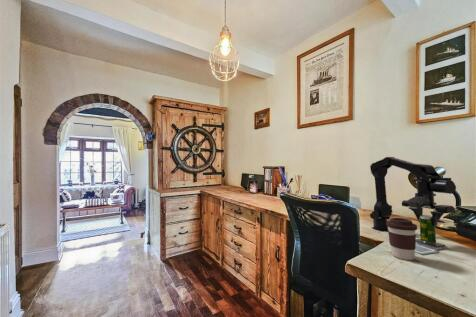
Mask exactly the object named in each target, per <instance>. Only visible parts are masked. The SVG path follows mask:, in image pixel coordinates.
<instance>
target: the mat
mask: <svg viewBox="0 0 476 317" xmlns="http://www.w3.org/2000/svg"><path fill="white" fill-rule="evenodd" d="M437 253H439V254H440V250H433V249H430V248H427V247H424V246H420V245H417V244H416V248H415V254H418V255H419V256H425V255H432V254H437Z"/></svg>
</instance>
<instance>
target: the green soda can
mask: <svg viewBox="0 0 476 317" xmlns="http://www.w3.org/2000/svg"><path fill="white" fill-rule="evenodd" d="M419 221H420V223H419V232H420V233H419V234H420V235H419V236H420V238H419V239H421V241H422V242H425V243H429V244H435V243H436V242H437V231H436V226H433V223H432V215H429V214H428V215H427V214H423V215H420V217H419Z"/></svg>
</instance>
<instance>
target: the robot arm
mask: <svg viewBox="0 0 476 317" xmlns="http://www.w3.org/2000/svg"><path fill="white" fill-rule="evenodd" d="M393 166H394V167H396V168H398V169H399V168H400V169H402V170H406V171H408V172H409V173H410V174H412V175H413V176H414V178H413V179H412V180H411V181H412V182H416V191H417V192H415V193H414V196H413V197H411V198H410V199H406V200H402V202H401V207H406V208H408V210H411V211H412V212H413V213H414V215H415V217H416V219H417V222H418V223H419V224H420V221H419V217H420V215H424V214H423V212H424V209H429V210H432V211H430V214H431V216H432V223H433V226H435V227H436V226H437V224H438V223H439V221H440V219H441V218H442V216H443V215H444V214H455V213H456V208H455V207H454V206H453V205H448V204H437V202H435V197H436V196H437V194H436V193H438V194H439V193H440V194H447V195H448V194H450V195H451V194H454V193H455V192H456V191H457V186H456V183H455V182H454V181H453V180H452V178H451V177H442V176H441V175H440V174H439V172H437V170H436V169H435V166H433V165H432V164H431V165H430V164H426V163H425V164H423V163H414V162H410V161H407V160H403V159H400V158H397V157H394V156H386V157H384V158H382V159H379V160H377V161H375V162H372V163H371V164H370V166H369V168H370V174H372V176H373V178H374V184H375V185H374V186H375V198H376V202H375V203H374V205H373V206H374V207H373V211H372V212H371V213H370V214H369V216H370V219H371V220H373V221H372V222H373V226H371V229H374V230H377V231H380V232H385V231H387V232H388V230H389V229H388V226H387V225H386V222H387V221H388V220H390V219H391V216H392V213H393V206H392V205H391V204H389V203H388V201H387V200H388V199H387V189H386V176H387V174H388V169H390V168H391V167H393Z"/></svg>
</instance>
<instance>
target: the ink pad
mask: <svg viewBox="0 0 476 317" xmlns="http://www.w3.org/2000/svg"><path fill="white" fill-rule="evenodd" d="M416 244H417V245H420V246H423V247H427V248H430V249H433V250H436V251H440V250H441V251H442V250H447V249H448V248H449V246H448V245H446V244H443V243H440V242H437V241H436V243H435V244H429V243H425V242H422V241H421V238H416Z"/></svg>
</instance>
